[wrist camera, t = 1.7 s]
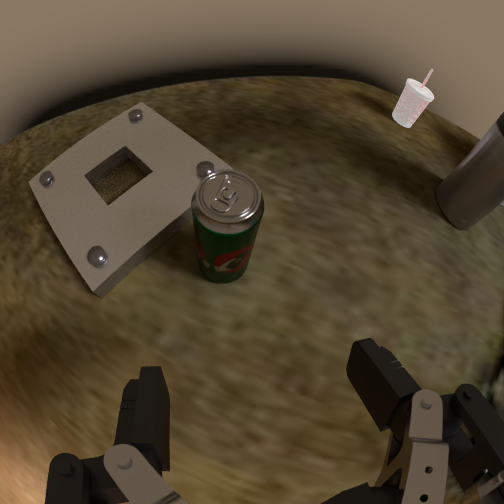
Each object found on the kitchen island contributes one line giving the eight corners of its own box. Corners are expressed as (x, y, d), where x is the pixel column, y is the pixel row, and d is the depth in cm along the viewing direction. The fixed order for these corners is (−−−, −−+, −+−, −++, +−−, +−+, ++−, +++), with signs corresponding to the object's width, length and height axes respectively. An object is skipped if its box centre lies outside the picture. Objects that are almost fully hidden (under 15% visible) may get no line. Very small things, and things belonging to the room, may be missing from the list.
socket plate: (143, 114, 37) (140, 99, 34) (235, 184, 33) (237, 168, 30) (36, 192, 29) (26, 179, 27) (102, 298, 26) (90, 289, 23)
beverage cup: (418, 132, 45) (451, 83, 32) (398, 128, 44) (431, 75, 31) (404, 112, 47) (432, 64, 35) (383, 108, 46) (411, 56, 33)
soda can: (255, 253, 30) (279, 184, 19) (232, 294, 28) (244, 241, 17) (214, 231, 30) (216, 155, 19) (189, 269, 28) (174, 204, 17)
